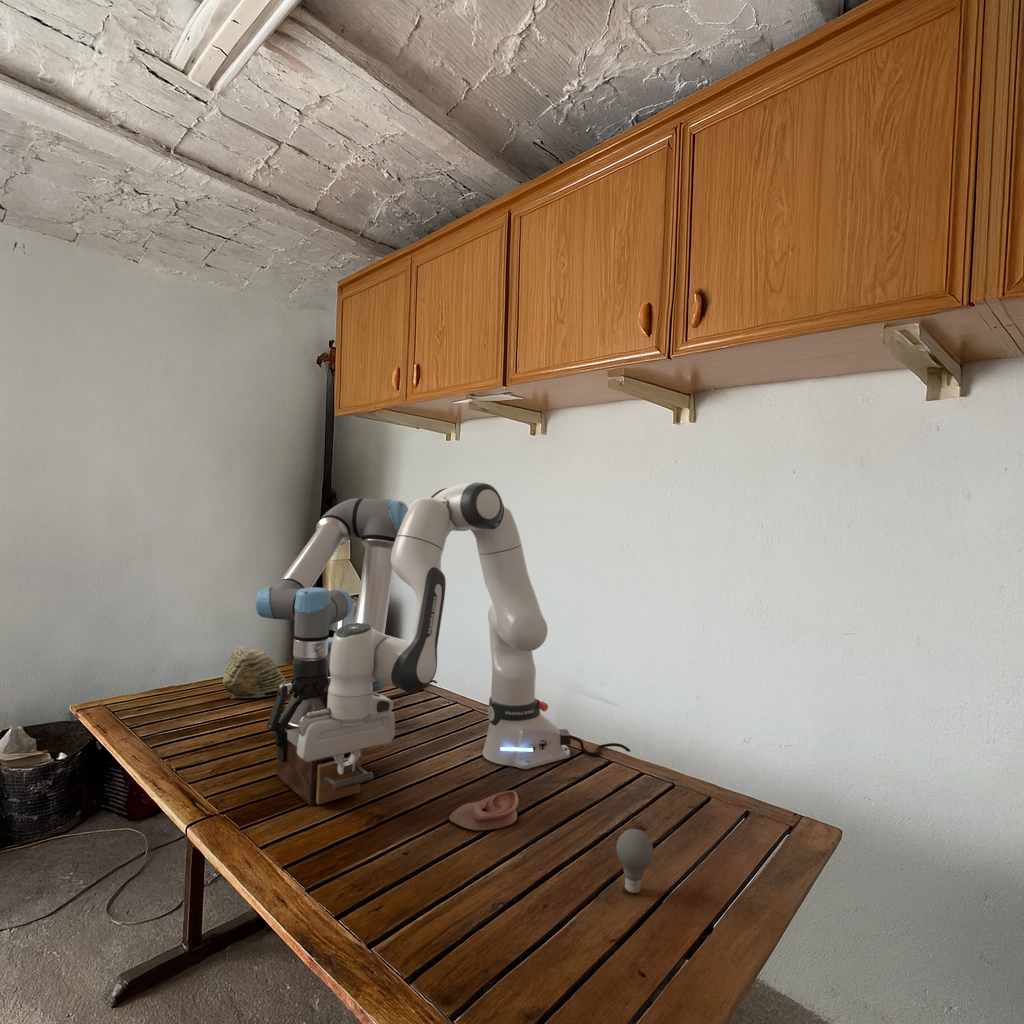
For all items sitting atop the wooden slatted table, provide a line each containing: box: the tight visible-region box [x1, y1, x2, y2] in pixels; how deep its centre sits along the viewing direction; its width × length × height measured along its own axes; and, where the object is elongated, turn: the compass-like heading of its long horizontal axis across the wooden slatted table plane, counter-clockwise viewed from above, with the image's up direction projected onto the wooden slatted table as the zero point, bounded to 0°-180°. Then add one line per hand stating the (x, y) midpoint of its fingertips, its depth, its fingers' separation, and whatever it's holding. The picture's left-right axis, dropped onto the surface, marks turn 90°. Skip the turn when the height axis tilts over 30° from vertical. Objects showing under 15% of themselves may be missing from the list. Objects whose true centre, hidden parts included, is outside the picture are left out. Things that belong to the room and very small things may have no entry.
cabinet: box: [275, 728, 351, 806], centre depth 140 cm, size 18×11×10 cm, turn 42°
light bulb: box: [615, 828, 654, 894], centre depth 106 cm, size 6×6×10 cm
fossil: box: [222, 646, 287, 699], centre depth 198 cm, size 9×18×15 cm, turn 132°
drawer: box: [315, 754, 375, 806], centre depth 135 cm, size 23×9×8 cm, turn 42°
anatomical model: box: [448, 790, 519, 831], centre depth 128 cm, size 13×4×12 cm
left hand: (306, 753), depth 143 cm, fingers closed on cabinet, 11 cm apart
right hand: (345, 772), depth 129 cm, fingers closed
